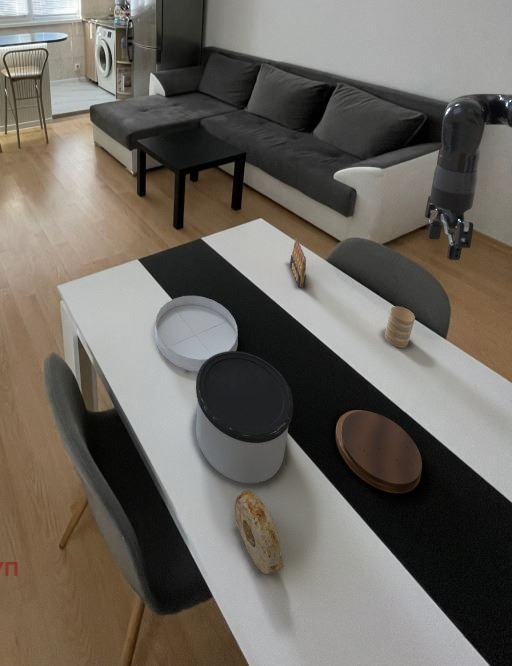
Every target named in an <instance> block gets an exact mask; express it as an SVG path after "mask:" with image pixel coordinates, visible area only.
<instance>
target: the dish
mask: <svg viewBox="0 0 512 666" xmlns="http://www.w3.org/2000/svg"><path fill="white" fill-rule="evenodd" d="M238 336H239V335H238V325H237V323H236V319H235V318H234V316H233V315H232V313H231V312H230V311H229V310H228V309H227V308H226V307H225V306H224V305H222V304H221V303H220V302H219V303H218V302H217V301H215V300H214V299H210V298H207V297H204V296H200V295H199V296H198V295H182V296H179V297H175V298H172V299H171V300H169V301H168V302H166V303H165V304H164V305H163V306H162V307H161V308H160V309H159V311H158V312H157V315H156V317H155V328H154V337H155V343H156V345H157V347H158V349H159V351H160V353H161V354H162V355H163V356H164V357H165V359H166V360H168V361H169V362H171V363H172V364H173V365H175V367H179V368H181V369H183V370H185V371H189V372H196V373H198V372H199V370H200V368H201V366H202V365H203V364H204V362H205V361H206V360H208V359H209V358H210V357H212V356H214V355H216V354H218V353H222V352H227V351H237V349H238V345H239V341H238Z"/></svg>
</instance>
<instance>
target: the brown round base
mask: <svg viewBox="0 0 512 666" xmlns="http://www.w3.org/2000/svg"><path fill="white" fill-rule="evenodd" d="M335 443H336V446H337V449H338V452H339V454H340V456H341V458H342V460H343V461H344V462H345V464H346V466H348V468H349V469H350V470H351V471H352V472H353V473H354V474H355V475H356V476H357V477H359V478H360V480H362V481H364V482H365V483H366V484H368V485H369V486H371V487H373V488H375V489H377V490H379V491H383V492H385V493H389V494H397V495H399V494H400V495H401V494H407V493H409V492H412V491H413V490H415V489H416V487H417V486H418V485H419V484H420V481H421V477H422V470H423V461H422V460H423V459H422V455H421V453H420V451H419V448H418V447H417V445H416V443H415V442H414V440H413V438H412V437H411V436H410V435H409V434H408V433H407V431H405V430H404V429H403V428H402V427H401V426H399V424H397V423H396V422H395V421H393V420H391V419H390V418H389V417H386V416H384V415H383V414H379V413H377V412H372V411H368V410H361V409H356V410H355V409H354V410H349V411H347V412H345V413H343V414H342V415H341V416H340V417H339V419H338V420H337V422H336V428H335Z"/></svg>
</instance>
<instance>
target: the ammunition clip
mask: <svg viewBox="0 0 512 666" xmlns="http://www.w3.org/2000/svg"><path fill="white" fill-rule="evenodd" d="M291 252H292V253H291V254H290V260H289V267H290V270H291V273H292V275H293V278H294V280H295V283H296V285H297V288H303V289H305V285H306V278H307V275H306V272H307V271H306V270H307V269H306V268H307V267H306V266H307V258H306V256H305V252H304V251H303V248H302V246H301V245H300V242H299V239H298V238H295V240H294V244H293V247H292V251H291Z"/></svg>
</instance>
